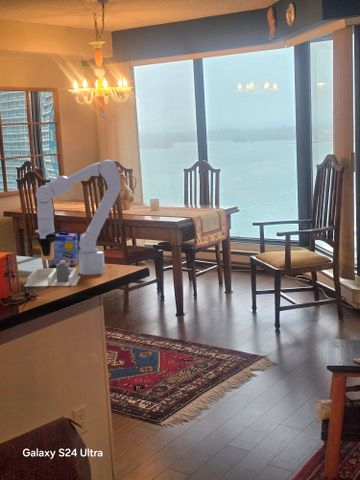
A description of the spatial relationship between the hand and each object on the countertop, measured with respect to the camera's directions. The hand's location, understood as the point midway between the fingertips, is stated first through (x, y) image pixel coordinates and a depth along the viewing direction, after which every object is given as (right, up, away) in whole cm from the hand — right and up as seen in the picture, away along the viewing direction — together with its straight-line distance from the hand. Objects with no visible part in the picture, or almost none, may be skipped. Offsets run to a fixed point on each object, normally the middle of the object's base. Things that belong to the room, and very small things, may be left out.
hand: (47, 254), depth 237 cm
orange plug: (0, -2, 0) cm, 2 cm away
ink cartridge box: (+3, -5, +23) cm, 23 cm away
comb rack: (+4, -10, -9) cm, 14 cm away
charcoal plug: (+7, -9, -9) cm, 15 cm away
